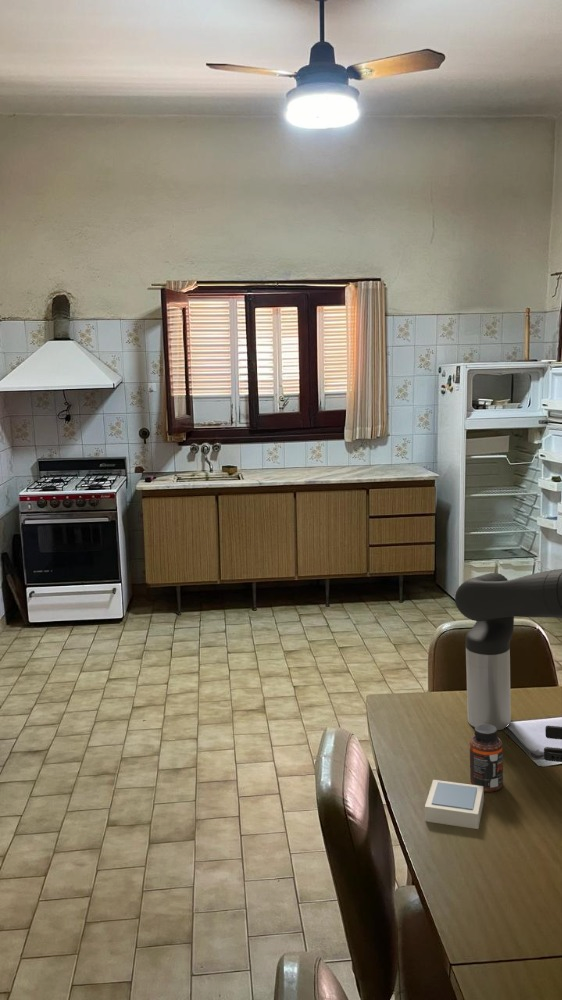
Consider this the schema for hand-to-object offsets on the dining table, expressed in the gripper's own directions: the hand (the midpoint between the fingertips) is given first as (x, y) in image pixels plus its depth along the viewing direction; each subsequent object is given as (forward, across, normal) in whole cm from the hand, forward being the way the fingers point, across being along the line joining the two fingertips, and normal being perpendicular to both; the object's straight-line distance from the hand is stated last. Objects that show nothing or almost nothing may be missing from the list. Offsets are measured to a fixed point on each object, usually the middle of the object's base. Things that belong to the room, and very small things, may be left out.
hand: (544, 742), depth 135 cm
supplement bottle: (+10, 0, +10) cm, 15 cm away
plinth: (+15, +10, +10) cm, 20 cm away
